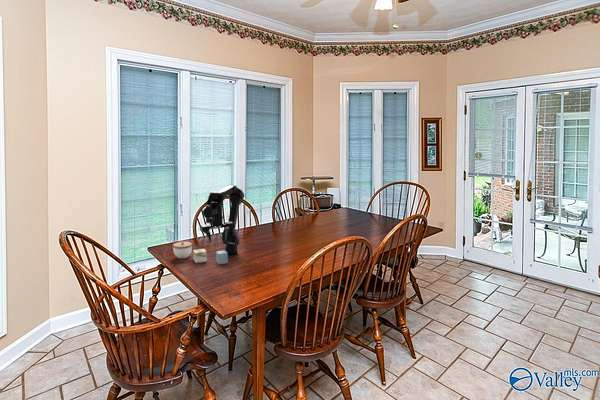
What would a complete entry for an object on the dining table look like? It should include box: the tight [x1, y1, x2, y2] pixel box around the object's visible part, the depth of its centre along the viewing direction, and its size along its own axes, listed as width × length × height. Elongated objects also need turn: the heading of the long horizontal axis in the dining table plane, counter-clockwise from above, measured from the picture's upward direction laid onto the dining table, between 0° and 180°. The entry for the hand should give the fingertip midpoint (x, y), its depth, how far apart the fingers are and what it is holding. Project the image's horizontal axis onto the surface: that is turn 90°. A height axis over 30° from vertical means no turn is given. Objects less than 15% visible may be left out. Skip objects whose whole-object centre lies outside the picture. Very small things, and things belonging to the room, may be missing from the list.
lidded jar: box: [172, 241, 193, 259], centre depth 212 cm, size 11×11×9 cm
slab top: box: [192, 248, 208, 258], centre depth 206 cm, size 6×6×3 cm
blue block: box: [215, 249, 229, 265], centre depth 204 cm, size 5×5×6 cm
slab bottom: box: [192, 254, 208, 264], centre depth 207 cm, size 6×6×3 cm
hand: (218, 241), depth 203 cm, fingers open, 9 cm apart
